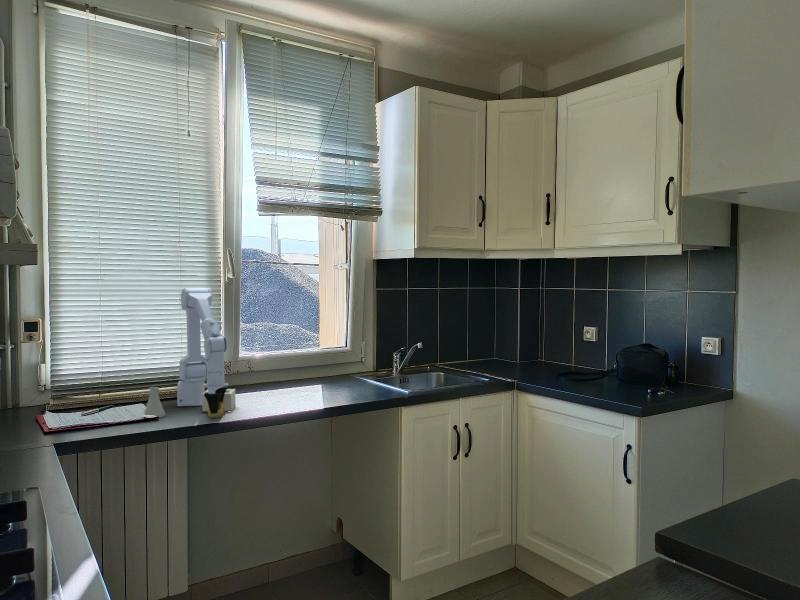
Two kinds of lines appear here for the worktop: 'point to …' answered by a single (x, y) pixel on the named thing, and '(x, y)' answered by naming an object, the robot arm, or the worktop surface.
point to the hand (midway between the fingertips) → (216, 410)
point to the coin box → (228, 401)
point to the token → (220, 411)
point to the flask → (154, 404)
